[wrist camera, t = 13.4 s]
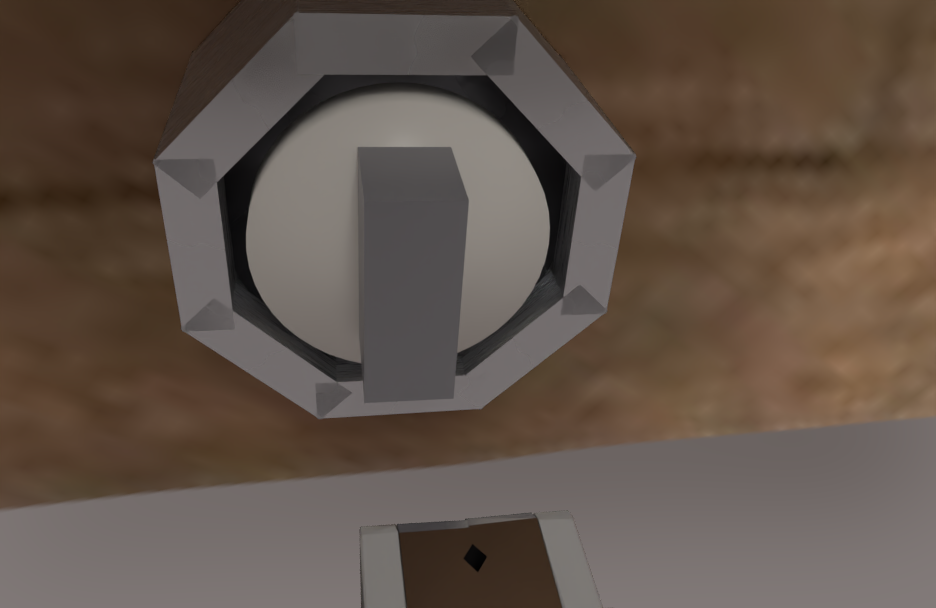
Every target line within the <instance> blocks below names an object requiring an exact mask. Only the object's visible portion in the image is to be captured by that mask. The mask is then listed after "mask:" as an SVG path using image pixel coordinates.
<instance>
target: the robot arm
mask: <svg viewBox="0 0 936 608" xmlns="http://www.w3.org/2000/svg"><path fill="white" fill-rule="evenodd" d="M360 574H361V608H603V606H602V603H601V600H600V597H599V594H598V591H597V588H596V585H595V582H594V579H593V576H592V573H591V570H590V567H589V564H588V561H587V558H586V555H585V552H584V549H583V546H582V543H581V540H580V537H579V534H578V530H577V528H576V524H575V522H574V519H573V516H572V515H571V514H570V513H569V511H554V512H543V513H534V514H532V513H522V514H513V515H501V516H491V517H481V518H470V519H465V520H463V521H444V522H427V523H409V524H397V526H396V525H395V524H394V525H379V526H366V527H360Z"/></svg>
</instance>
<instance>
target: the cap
mask: <svg viewBox="0 0 936 608" xmlns="http://www.w3.org/2000/svg"><path fill="white" fill-rule="evenodd" d="M549 234H550V222H549V210H548V206H547V202H546V198H545V194H544V191H543V189H542V186H541V184H540V181H539V179H538V177H537V175H536V173H535V171H534V169H533V167H532V165H531V163H530V161H529V159H528V157H527V155H526V153H525V151H524V150H523V148H522V146H521V145H520V143H519V141H518V140H517V139H516V137H515V136H514V135H513V134H512V132H511V131H510V130H509V129H508V127H507V126H506V125H504V124H503V123H502V122H501V121H500V120H499V119H498V118H497V117H496V116H495V115H494V114H492V113H491V112H490V111H488V110H487V109H485V108H484V107H482V106H481V105H479V104H478V103H476V102H474V101H472V100H470V99H468V98H466V97H464V96H462V95H460V94H457V93H455V92H452V91H449V90H446V89H443V88H439V87H435V86H430V85H425V84H418V83H405V82H395V83H379V84H373V85H368V86H362V87H358V88H355V89H351V90H348V91H345V92H342V93H339V94H337V95H335V96H333V97H330V98H328V99H326V100H324V101H322V102H320V103H318V104H317V105H315V106H314V107H312V108H310V109H309V110H307V111H306V112H304V113H303V114H302V115H300V116H299V117H298V118H297V119H296V120H295V121H293V122H292V123H291V124H290V125H289V126H288V127H287V128H286V129H285V130H284V131H283V132H282V133H281V134H280V136H279V137H278V138H277V139H276V140H275V141H274V143H273V144H272V146H271V147H270V149H269V150H268V152H267V153H266V155H265V157H264V159H263V161H262V163H261V165H260V167H259V169H258V171H257V174H256V177H255V180H254V184H253V187H252V191H251V198H250V205H249V212H248V220H247V228H246V252H247V258H248V264H249V269H250V272H251V275H252V278H253V281H254V284H255V286H256V288H257V290H258V292H259V293H260V295H261V297H262V299H263V301H264V302H265V304H266V305H267V306H268V308H269V309H270V311H271V312H272V313H273V315H274V316H275V317H276V318H277V319H278V320H279V321H280V322H281V323H282V324H283V325H284V326H285V327H286V328H287V329H288V330H290V331H291V332H292V333H293V334H295V335H296V336H297V337H298V338H300V339H302V340H303V341H305V342H306V343H308V344H310V345H311V346H313V347H315V348H317V349H319V350H321V351H323V352H325V353H328V354H330V355H333V356H336V357H339V358H342V359H345V360H349V361H353V362H358V363H361V366H362V379H363V391H364V403H377V402H397V401H416V400H436V399H454V387H455V374H456V361H457V353H458V352H461V351H463V350H465V349H468V348H469V347H471V346H473V345H475V344H477V343H478V342H480V341H482V340H484V339H485V338H487V337H488V336H489V335H491V334H492V333H494V332H495V331H497V330H498V329H499V328H500V327H501V326H502V325H504V324H505V323H506V322H507V321H508V320H509V319H510V318H511V317H512V316H513V315H514V314H515V313H516V312H517V310H518V309H519V308H520V307H521V306H522V305H523V303H524V302H525V300H526V299H527V298H528V296H529V295H530V293H531V292H532V290H533V288H534V286H535V284H536V282H537V280H538V279H539V277H540V274H541V271H542V268H543V266H544V263H545V260H546V255H547V250H548V246H549Z"/></svg>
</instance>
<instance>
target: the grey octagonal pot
mask: <svg viewBox="0 0 936 608" xmlns="http://www.w3.org/2000/svg"><path fill="white" fill-rule="evenodd" d="M395 82H405V83H418V84H425V85H430V86H435V87H439V88H443V89H446V90H449V91H452V92H455V93H457V94H460V95H462V96H464V97H466V98H468V99H470V100H472V101H474V102H476V103H478V104H479V105H481V106H482V107H484V108H485V109H487V110H488V111H490V112H491V113H492V114H494V115H495V116H496V117H497V118H498V119H499V120H500V121H501V122H502V123H503V124H504V125H506V126H507V127H508V129H509V130H510V131H511V132H512V134H513V135H514V136H515V137H516V139H517V140H518V141H519V143H520V145H521V146H522V148H523V150H524V151H525V153H526V155H527V157H528V159H529V161H530V163H531V165H532V167H533V169H534V171H535V173H536V175H537V177H538V179H539V181H540V184H541V186H542V189H543V191H544V194H545V198H546V202H547V206H548V210H549V222H550V234H549V246H548V250H547V255H546V260H545V263H544V266H543V268H542V271H541V274H540V277H539V279H538V280H537V282H536V284H535V286H534V288H533V290H532V292H531V293H530V295H529V296H528V298H527V299H526V300H525V302H524V303H523V305H522V306H521V307H520V308H519V309H518V310H517V312H516V313H515V314H514V315H513V316H512V317H511V318H510V319H509V320H508V321H507V322H506V323H505V324H504V325H502V326H501V327H500V328H499V329H498V330H497V331H495V332H494V333H492V334H491V335H489V336H488V337H487V338H485V339H484V340H482V341H480V342H478V343H477V344H475V345H473V346H471V347H469V348H468V349H465V350H463V351H461V352H458V353H457V361H456V374H455V387H454V399H436V400H416V401H397V402H377V403H364V391H363V379H362V366H361V363H358V362H353V361H349V360H345V359H342V358H339V357H336V356H333V355H330V354H328V353H325V352H323V351H321V350H319V349H317V348H315V347H313V346H311V345H310V344H308V343H306V342H305V341H303V340H302V339H300V338H298V337H297V336H296V335H295V334H293V333H292V332H291V331H290V330H288V329H287V328H286V327H285V326H284V325H283V324H282V323H281V322H280V321H279V320H278V319H277V318H276V317H275V316H274V315H273V313H272V312H271V311H270V309H269V308H268V306H267V305H266V304H265V302H264V301H263V299H262V297H261V295H260V293H259V292H258V290H257V288H256V286H255V284H254V281H253V278H252V275H251V272H250V269H249V264H248V258H247V252H246V228H247V220H248V212H249V205H250V198H251V191H252V187H253V184H254V180H255V177H256V174H257V171H258V169H259V167H260V165H261V163H262V161H263V159H264V157H265V155H266V153H267V152H268V150H269V149H270V147H271V146H272V144H273V143H274V141H275V140H276V139H277V138H278V137H279V136H280V134H281V133H282V132H283V131H284V130H285V129H286V128H287V127H288V126H289V125H290V124H291V123H292V122H293V121H295V120H296V119H297V118H298V117H299V116H300V115H302V114H303V113H304V112H306V111H307V110H309V109H310V108H312V107H314V106H315V105H317V104H318V103H320V102H322V101H324V100H326V99H328V98H330V97H333V96H335V95H337V94H339V93H342V92H345V91H348V90H351V89H355V88H358V87H362V86H368V85H373V84H379V83H395ZM635 158H637V157H636V154H635V152H634V151H633V150H632V149H631V147H630V146H629V145H628V143H627V142H626V141H625V139H624V138H623V137H622V135H621V134H620V133H619V132H618V130H617V129H616V128H615V126H614V125H613V124H612V122H611V121H610V120H609V118H608V117H607V116H606V114H605V113H604V112H603V111H602V109H601V108H600V107H599V105H598V104H597V103H596V101H595V100H594V99H593V97H592V96H591V95H590V93H589V92H588V91H587V90H586V88H585V87H584V86H583V84H582V83H581V82H580V80H579V79H578V78H577V76H576V75H575V74H574V72H573V71H572V70H571V69H570V67H569V66H568V65H567V63H566V62H565V61H564V59H563V58H562V57H561V55H558V54H557V52H556V51H555V50H554V49H553V48H552V46H551V45H550V44H549V43H548V42H547V41H546V39H545V38H544V37H543V36H542V35H541V33H540V32H539V31H538V30H537V29H536V28H535V26H534V25H533V24H532V23H531V22H530V20H529V19H528V18H527V17H526V16H525V14H524V13H523V12H522V11H521V10H520V9H519V7H518V6H517V5H516V4H515V3H514V1H513V0H241V1H240V2H239V3H238V4H237V5H236V7H235V8H234V9H233V10H232V11H231V12H230V13H229V14H228V15H227V16H226V17H225V18H224V20H223V21H222V22H221V23H220V24H219V25H218V26H217V27H216V28H215V29H214V30H213V31H212V33H211V34H210V35H209V36H208V37H207V38H206V39H205V40H204V41H203V42H202V43H201V44H200V46H199V47H198V48H197V49H196V50H195V51H192V54H191V57H190V60H189V62H188V65H187V68H186V71H185V73H184V76H183V79H182V82H181V84H180V87H179V90H178V93H177V95H176V98H175V101H174V104H173V107H172V109H171V112H170V115H169V118H168V120H167V123H166V126H165V129H164V131H163V134H162V137H161V140H160V142H159V145H158V148H157V151H156V153H155V156H154V159H153V162H152V163H153V164H154V166H155V172H156V178H157V184H158V190H159V196H160V202H161V208H162V214H163V220H164V226H165V231H166V237H167V243H168V249H169V255H170V261H171V267H172V273H173V279H174V285H175V291H176V297H177V303H178V308H179V314H180V320H181V330H182V332H186V333H187V334H189V335H190V336H192V337H194V338H195V339H197V340H198V341H200V342H201V343H203V344H204V345H206V346H207V347H209V348H211V349H212V350H214V351H215V352H217V353H218V354H220V355H221V356H223V357H224V358H226V359H228V360H229V361H231V362H232V363H234V364H235V365H237V366H238V367H240V368H242V369H243V370H245V371H246V372H248V373H249V374H251V375H252V376H254V377H255V378H257V379H259V380H260V381H262V382H263V383H265V384H266V385H268V386H269V387H271V388H272V389H274V390H276V391H277V392H279V393H280V394H282V395H283V396H285V397H286V398H288V399H289V400H291V401H293V402H294V403H296V404H297V405H299V406H300V407H302V408H303V409H305V410H307V411H308V412H310V413H311V414H313V415H314V416H316V417H317V419H322V418H338V417H354V416H371V415H387V414H403V413H420V412H436V411H453V410H469V409H479V410H480V409H483V407H484V406H485V405H486V404H488V403H489V402H490V401H492V400H493V399H494V398H495V397H497V396H498V395H499V394H501V393H502V392H503V391H505V390H506V389H507V388H508V387H510V386H511V385H512V384H514V383H515V382H516V381H518V380H519V379H520V378H521V377H523V376H524V375H525V374H527V373H528V372H529V371H530V370H532V369H533V368H534V367H536V366H537V365H538V364H540V363H541V362H542V361H543V360H545V359H546V358H547V357H549V356H550V355H551V354H552V353H554V352H555V351H556V350H558V349H559V348H560V347H562V346H563V345H564V344H565V343H567V342H568V341H569V340H571V339H572V338H573V337H575V336H576V335H577V334H578V333H580V332H581V331H582V330H584V329H585V328H586V327H587V326H589V325H590V324H591V323H593V322H594V321H595V320H597V319H598V318H599V317H600V316H602V315H603V314H605V313H606V312H607V305H608V300H609V295H610V289H611V284H612V279H613V273H614V268H615V263H616V257H617V252H618V247H619V241H620V236H621V231H622V225H623V220H624V215H625V209H626V204H627V199H628V193H629V188H630V183H631V177H632V172H633V167H634V161H635Z"/></svg>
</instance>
